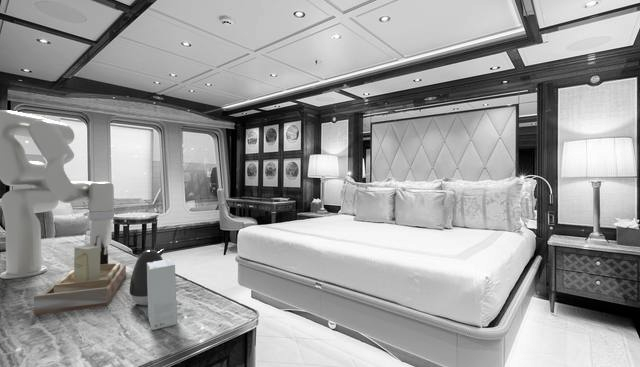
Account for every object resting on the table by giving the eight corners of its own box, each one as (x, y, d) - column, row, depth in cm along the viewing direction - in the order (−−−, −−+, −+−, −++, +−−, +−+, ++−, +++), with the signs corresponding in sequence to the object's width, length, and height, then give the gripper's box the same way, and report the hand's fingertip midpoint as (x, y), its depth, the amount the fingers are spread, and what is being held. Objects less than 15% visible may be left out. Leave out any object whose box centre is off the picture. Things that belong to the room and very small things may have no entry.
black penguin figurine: (178, 297, 94) (177, 247, 94) (148, 311, 84) (148, 255, 84) (152, 293, 98) (151, 244, 97) (121, 306, 88) (120, 252, 87)
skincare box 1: (73, 286, 98) (72, 247, 97) (88, 281, 102) (87, 244, 102) (86, 288, 95) (86, 249, 95) (101, 284, 100) (101, 246, 99)
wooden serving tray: (72, 281, 108) (71, 266, 108) (125, 275, 115) (125, 261, 115) (34, 315, 82) (34, 296, 82) (106, 305, 88) (106, 288, 88)
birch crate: (76, 278, 108) (76, 266, 108) (120, 273, 113) (120, 262, 113) (53, 299, 90) (53, 285, 90) (107, 292, 95) (107, 279, 95)
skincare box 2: (177, 325, 77) (177, 265, 76) (149, 331, 74) (149, 269, 73) (172, 312, 84) (172, 257, 83) (146, 318, 80) (146, 260, 80)
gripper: (95, 213, 120) (95, 261, 121) (83, 218, 106) (84, 272, 107) (117, 212, 123) (118, 259, 124) (109, 217, 109) (110, 269, 110)
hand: (102, 265), depth 115 cm, fingers closed
